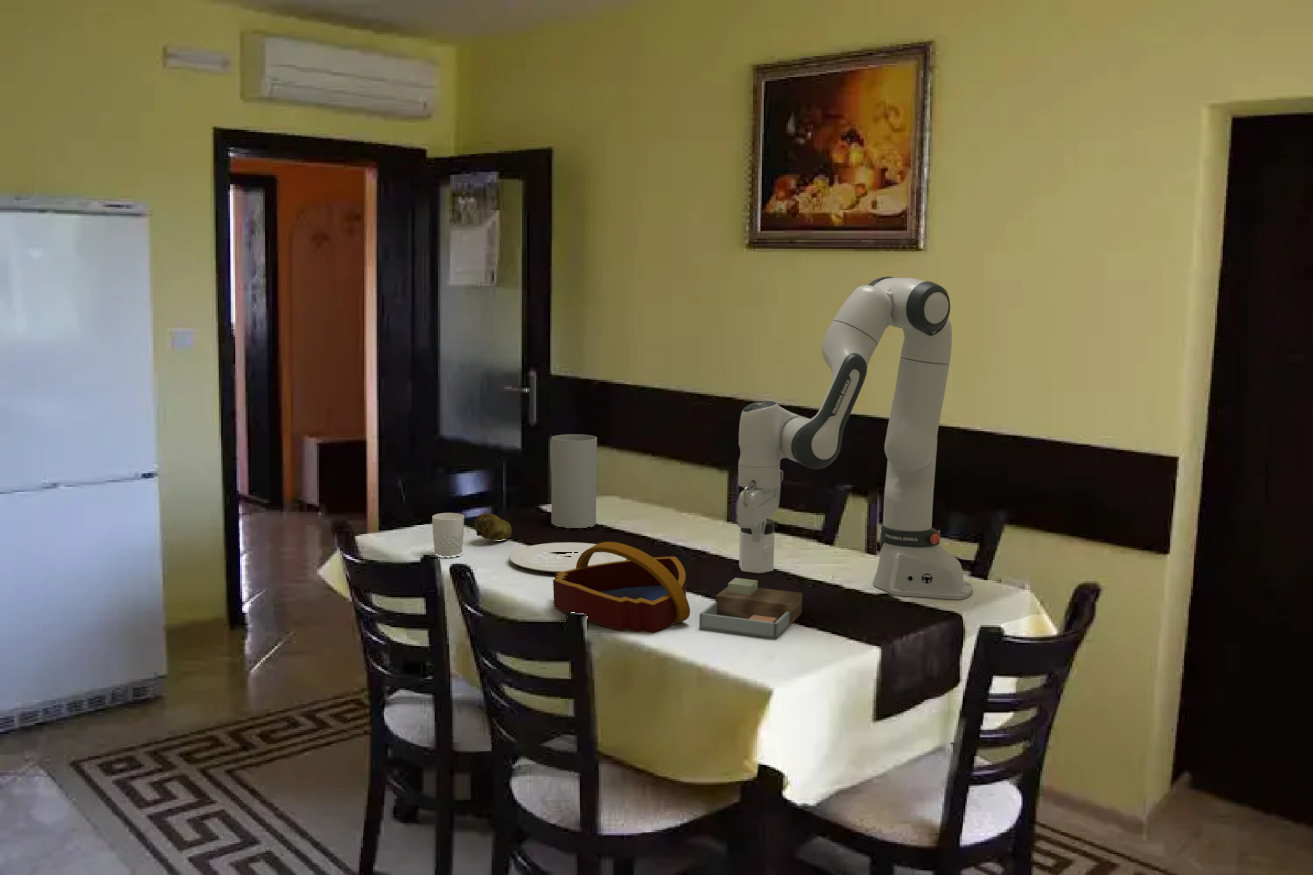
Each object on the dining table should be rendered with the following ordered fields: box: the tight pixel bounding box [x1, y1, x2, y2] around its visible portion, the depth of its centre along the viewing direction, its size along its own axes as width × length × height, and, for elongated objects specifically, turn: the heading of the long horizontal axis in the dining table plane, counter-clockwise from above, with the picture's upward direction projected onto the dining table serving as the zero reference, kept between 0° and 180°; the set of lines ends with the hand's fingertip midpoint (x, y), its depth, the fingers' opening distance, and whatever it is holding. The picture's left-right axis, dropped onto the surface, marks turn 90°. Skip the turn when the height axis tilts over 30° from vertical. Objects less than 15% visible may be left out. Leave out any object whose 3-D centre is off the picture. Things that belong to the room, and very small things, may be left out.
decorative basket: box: [552, 541, 691, 634], centre depth 252 cm, size 34×29×15 cm
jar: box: [738, 518, 775, 574], centre depth 288 cm, size 9×8×12 cm
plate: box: [508, 542, 628, 574], centre depth 292 cm, size 29×29×2 cm
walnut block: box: [715, 586, 803, 627], centre depth 250 cm, size 16×10×4 cm, turn 68°
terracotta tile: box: [749, 615, 777, 623], centre depth 239 cm, size 5×5×2 cm
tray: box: [698, 601, 790, 641], centre depth 241 cm, size 16×9×3 cm, turn 68°
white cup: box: [431, 512, 465, 556], centre depth 296 cm, size 8×8×10 cm
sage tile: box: [727, 577, 759, 595], centre depth 252 cm, size 5×5×2 cm
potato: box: [473, 512, 512, 541], centre depth 312 cm, size 8×13×8 cm, turn 136°
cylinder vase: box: [550, 433, 598, 529], centre depth 332 cm, size 12×12×25 cm
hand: (758, 540), depth 255 cm, fingers closed
